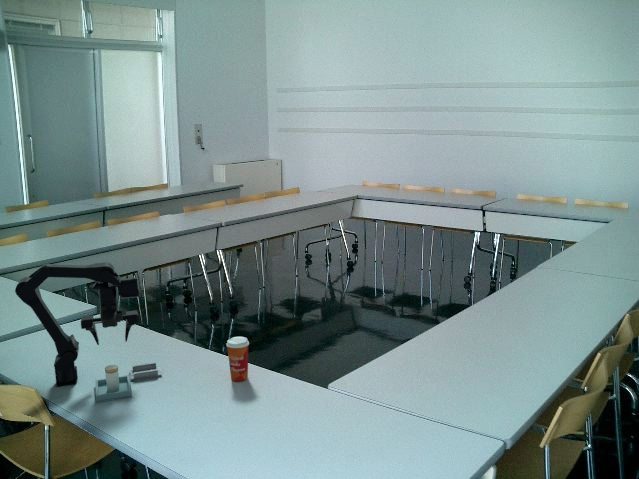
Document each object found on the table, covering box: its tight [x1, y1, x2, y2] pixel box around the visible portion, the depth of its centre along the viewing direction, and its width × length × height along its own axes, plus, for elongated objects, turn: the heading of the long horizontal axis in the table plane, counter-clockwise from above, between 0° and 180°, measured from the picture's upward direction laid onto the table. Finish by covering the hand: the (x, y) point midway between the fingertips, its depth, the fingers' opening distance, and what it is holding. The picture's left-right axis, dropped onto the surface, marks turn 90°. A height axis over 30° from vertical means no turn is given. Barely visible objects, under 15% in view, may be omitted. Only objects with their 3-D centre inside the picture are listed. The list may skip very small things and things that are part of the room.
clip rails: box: [128, 361, 163, 382], centre depth 226 cm, size 10×8×2 cm
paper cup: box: [225, 336, 250, 383], centre depth 220 cm, size 8×8×14 cm
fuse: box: [104, 364, 120, 392], centre depth 212 cm, size 4×4×8 cm
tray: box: [94, 374, 133, 403], centre depth 213 cm, size 11×13×2 cm
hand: (112, 343), depth 223 cm, fingers open, 9 cm apart
